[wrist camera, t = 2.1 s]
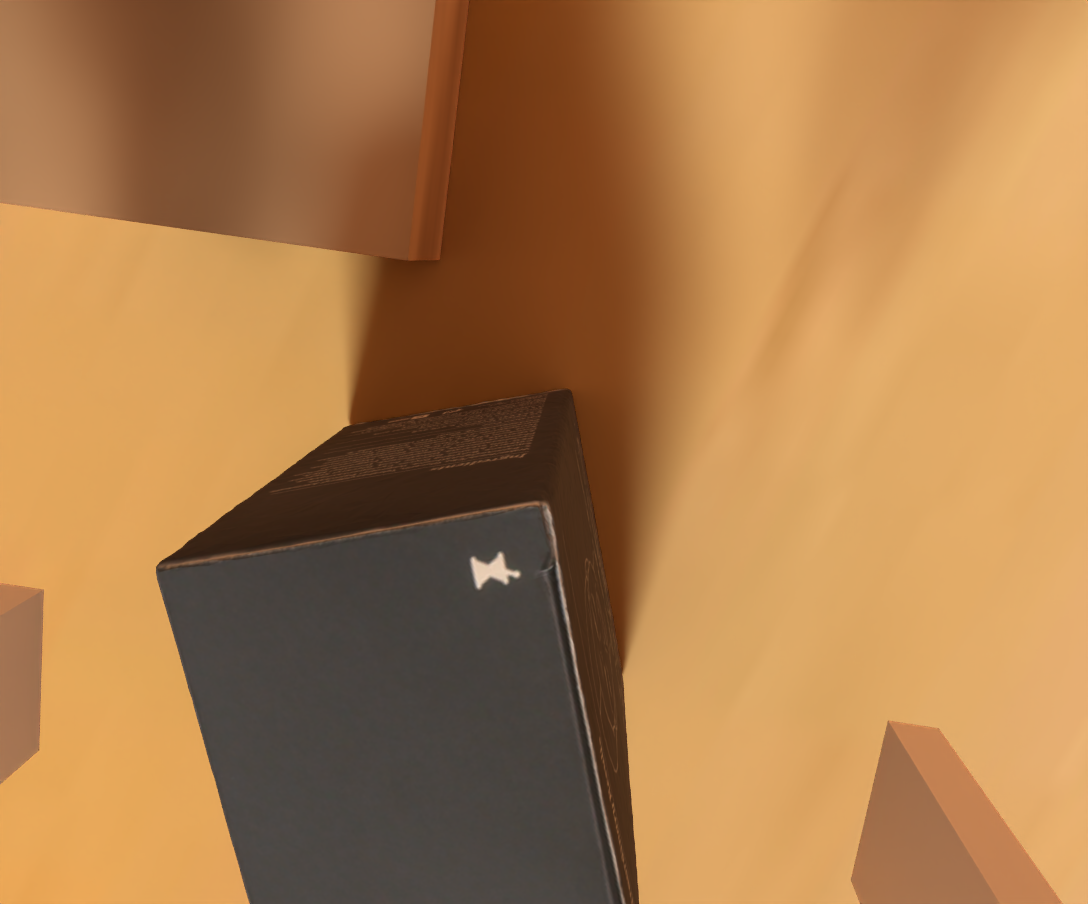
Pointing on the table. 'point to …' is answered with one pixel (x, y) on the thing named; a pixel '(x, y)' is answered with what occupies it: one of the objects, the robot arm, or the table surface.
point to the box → (415, 668)
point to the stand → (237, 116)
